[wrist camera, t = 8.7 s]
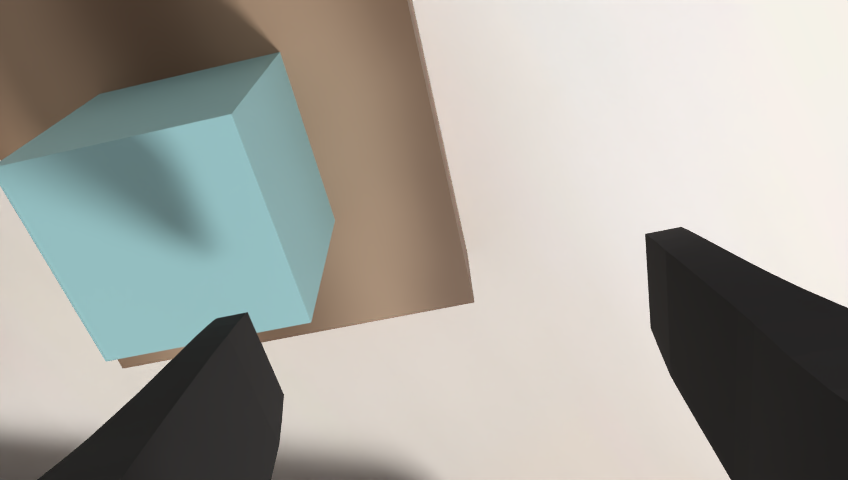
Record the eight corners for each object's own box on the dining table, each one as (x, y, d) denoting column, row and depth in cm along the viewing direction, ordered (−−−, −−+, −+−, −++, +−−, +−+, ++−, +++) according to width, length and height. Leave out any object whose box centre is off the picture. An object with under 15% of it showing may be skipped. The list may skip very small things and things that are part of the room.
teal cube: (280, 52, 16) (231, 113, 12) (335, 220, 19) (311, 322, 14) (99, 93, 17) (-11, 168, 13) (175, 252, 19) (106, 361, 15)
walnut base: (385, -121, 17) (380, -121, 15) (467, 254, 23) (474, 302, 20) (-22, -17, 18) (-94, 0, 16) (154, 315, 24) (123, 368, 21)
